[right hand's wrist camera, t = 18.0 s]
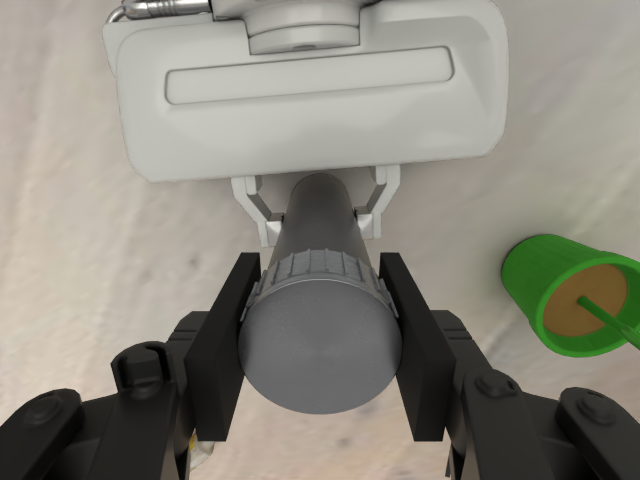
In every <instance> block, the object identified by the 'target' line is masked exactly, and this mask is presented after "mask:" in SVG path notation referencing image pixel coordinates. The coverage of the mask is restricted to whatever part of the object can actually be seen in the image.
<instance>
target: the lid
mask: <svg viewBox="0 0 640 480" xmlns="http://www.w3.org/2000/svg"><path fill="white" fill-rule="evenodd" d="M397 319H399V315H398V313H397V310H396V308H395V305H394V302H393V300H392V297H391V294H390V292H388V291H387V288H386V285H385V282H384V280H383V279H380V278H379V277H378V276H377V274H376V273H375V271H374V268H373V267H371V268H370V267H368V266H367V265H366V264H364V263H363V262H362V261H361V259H360V258H357V259H356V258H354V257H352V256H349V255H347V254H345V252H343V251H342V253H340V252H336V251H329V250H328V249H326V248H325V250H311V249H307V251H304V252H300V253H296V254H294V253H291V255H290V256H288V257H286V258H284V259H282V260H280V261H279V260H277V261H276V262H275V264H274V265H273V266H272V267H270V268H269V269H268V270H264V271H263V274H262V277H261V278H260V280H259V281H258V282H255V283H254V286H253V289H252V291H251V294H250V295H249V298H248V300H247V303H246V306H245V308H244V311H243V314H242V316H241V319H240V322H239V323H242V324H241V327H240V329H239V334H238V338H237V350H238V358H239V362H240V366H241V368H242V370H243V372H244V374H245V376H246V378H247V379H248V381H249V382H250V383H251V384H252V386H253V387H254V388H255V389H256V390H257V391H258V392H259V393H260V394H261V395H263V396H264V397H265V398H267V399H268V400H270V401H272V402H273V403H275V404H277V405H279V406H281V407H284V408H286V409H289V410H293V411H296V412H301V413H307V414H333V413H339V412H344V411H348V410H351V409H354V408H356V407H359V406H361V405H363V404H365V403H367V402H369V401H370V400H372V399H373V398H375V397H376V396H377V395H379V394H380V393H381V392H382V391H383V390H384V389H385V388H386V387H387V386H388V385H389V383H390V382H391V381H392V379H393V378H394V376H395V375H396V373H397V370H398V368H399V366H400V363H401V359H402V351H403V338H402V333H401V329H400V326H399V323H398V321H397Z"/></svg>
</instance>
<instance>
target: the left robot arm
mask: <svg viewBox="0 0 640 480" xmlns="http://www.w3.org/2000/svg"><path fill="white" fill-rule="evenodd" d="M124 16H126V17H127V18H128V19H129V20H132V21H122V22H118V21H119V20H120V19H121V18H122V17H124ZM163 17H164V18H163ZM102 36H103V42H104V46H105V50H106V54H107V57H108V61H109V65H110V68H111V71H112V73H113V75H114V77H115V78H116V84H117V94H118V103H119V112H120V118H121V125H122V131H123V136H124V142H125V146H126V151H127V156H128V159H129V162H130V165H131V167H132V168H133V169H134V170H135V171H136V172H137V173H138V174H139V175H140V176H141V177H142V178H143V179H145V180H146V181H147V182H149V183H153V184H154V183H168V182H180V181H192V180H205V179H217V178H230V179H231V184H232V190H233V196H234V198H235V199H236V200H237V201H238V202H239V204H240V205H241V206H242V207H243V209H244V210H245V211H246V212H247V213H248V215H249V216H250V217H251V218H252V219H253V221H254V222H257V225H258V231H259V238H260V244H261V247H262V248H264V247H275V245H276V242H277V239H278V236H279V233H280V230H281V227H282V223H283V220H284V213H271V211H270V210H269V208H268V207H267V206H266V204H265V203H264V202H263V200H262V199H261V198H260V196H259V195H258V193H257V192H258V190H259V189H260V188H261V186H262V177H261V175H267V174H279V173H292V172H304V171H317V170H329V169H342V168H354V167H366V166H371V177H372V178H373V180H374V181H375V182H376V183H377V186H376V188H375V190H374V192H373V194H372V196H371V197H370V199H369V201H368V203H367V206H361V207H354V214H355V217H356V220H357V223H358V227H359V230H360V233H361V236H362V239H363V240H373V239H381V235H382V232H381V213H383V212H384V211H385V209H386V207H387V205H388V204H389V202H390V200H391V199H392V197H393V195H394V194H395V192H396V190H397V188H398V187H399V185H400V164H404V163H416V162H429V161H441V160H453V159H466V158H478V157H484V156H486V155H488V154H489V153H490V152H491V150H492V149H493V148H494V147H495V145H496V144H497V143H498V142H499V140H500V139H501V138H502V136H503V133H504V129H505V123H506V114H507V101H508V81H509V51H508V35H507V29H506V24H505V21H504V18H503V16H502V13H501V12H500V10H499V8H498V7H497V6H496V5H495V4H494V3H493V2H492V1H491V0H122V6H120V7H118V8H117V9H115V10H114V11H113V12H112V13H111V14H110V15H109V17H108V19H107V21H106V24H105V25H104V26H103V31H102Z"/></svg>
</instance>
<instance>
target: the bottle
mask: <svg viewBox="0 0 640 480" xmlns="http://www.w3.org/2000/svg"><path fill="white" fill-rule="evenodd" d="M325 248H326V249H328V250H329V251H336V252H340V253H342V251H343V252H345V254H347V255H349V256H352V257H354V258H356V259H357V258H360V259H361V261H362V262H363V263H364V264H366V265H367V266H368V267H370V268H371V267H372V266H371V263H370V260H369V257H368V254H367V251H366V248H365V245H364V242H363V239H362V236H361V233H360V230H359V227H358V223H357V220H356V217H355V214H354V211H353V208H352V205H351V202H350V199H349V196H348V193H347V190H346V188H345V187H344V185H343V184H342V183H341V182H340V181H339V180H338V179H336V178H335V177H333V176H330V175H327V174H313V175H309V176H307V177H305V178H304V179H302V180H301V181H300V182H299V183H298V184H297V185H296V187H295V188H294V190H293V193H292V196H291V199H290V202H289V205H288V208H287V211H286V214H285V217H284V220H283V223H282V227H281V230H280V233H279V236H278V239H277V242H276V245H275V248H274V251H273V254H272V257H271V260H270V264H269V267H268V269H269V268H270V267H272V266H273V265H274V264H275V262H276V261H277V260H279V261H280V260H282V259H284V258H286V257H288V256H290V255H291V253H294V254H296V253H300V252H304V251H307V249H311V250H325Z"/></svg>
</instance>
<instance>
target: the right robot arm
mask: <svg viewBox="0 0 640 480" xmlns="http://www.w3.org/2000/svg"><path fill="white" fill-rule="evenodd" d="M260 278H261V267H260V253H241V254H240V256H239V258H238V260H237V262H236V263H235V265H234V267H233V269H232V271H231V273H230V275H229V276H228V278H227V280H226V282H225V284H224V286H223V287H222V289H221V291H220V293H219V295H218V297H217V298H216V300H215V302H214V304H213V306H212V308H211V309H210V311H192V312H191V313H189V314H188V315H187V316H185V317H184V318H183V319H181V320H180V322H179V323H178V325H177V326H176V328H175V329H174V332H172V334H171V335H170V337H169V338H168V341H166V343H163V342H159V341H147V342H143V343H139V344H135V345H133V346H131V347H129V348H127V349H125V350H123V351H122V352H121V353H119V354H118V355H117V356H116V357H115V358H114V359H113V361H112V362H111V363H110V364H111V368H112V372H113V375H114V379H115V383H116V386H117V390H118V393H116V394H113V395H109V396H106V397H101V398H97V399H93V400H89V401H84V402H82V400H81V397H80V394H79V393H77V392H76V391H75V390H72V389H66V388H64V389H58V390H52V391H49V392H46V393H44V394H41V395H39V396H37V397H35V398H33V399H31V400H30V401H28V402H26V403H25V404H24V405H23V406H21V407H20V408H19V409H18V410H16V411H15V412H14V413H13V414H12V415H11V416H10V417H9V418H8V419H7V420H6V421H5V422H4V423H3V425H2V426H1V427H0V480H189V473H190V462H191V452H190V446H189V441H190V439H191V436H192V434H193V431H194V429H196V435H197V440H198V441H226V439H227V436H228V432H229V429H230V425H231V421H232V418H233V414H234V411H235V407H236V404H237V400H238V397H239V393H240V390H241V386H242V382H243V379H244V375H245V374H244V372H243V370H242V368H241V366H240V362H239V358H238V350H237V338H238V334H239V329H240V327H241V324H242V323H239V322H240V319H241V316H242V314H243V311H244V308H245V306H246V303H247V300H248V298H249V295H250V294H251V291H252V289H253V286H254V283H255V282H258V281H259V280H260ZM379 278H380V279H383V280H384V282H385V285H386V288H387V291H388V292H390V294H391V297H392V300H393V302H394V305H395V308H396V310H397V313H398V315H399V319H397V321H398V323H399V326H400V329H401V333H402V338H403V351H402V359H401V363H400V366H399V368H398V370H397V373H396V378H397V382H398V386H399V389H400V393H401V396H402V400H403V403H404V407H405V410H406V414H407V417H408V421H409V425H410V428H411V432H412V435H413V439H414V441H443V435H444V430H445V427H446V429H447V432H448V434H449V437H450V439H451V446H450V451H449V457H448V462H447V467H446V474H445V476H446V477H450V473H451V480H640V424H639V423H638V422H637V421H636V420H635V419H634V418H633V417H632V416H631V415H630V414H629V413H628V412H627V411H626V410H625V409H624V408H622V407H621V406H620V405H619V404H618V403H616V402H615V401H614V400H612V399H610V398H608V397H606V396H605V395H603V394H601V393H598V392H595V391H593V390H590V389H586V388H579V387H572V388H566V389H565V390H564V391H563V392H562V393H561V395H560V398H559V401H558V400H553V399H549V398H545V397H540V396H536V395H532V394H529V393H526V392H522V390H521V388H520V387H519V385H518V384H517V383H516V382H515V381H514V380H513V379H512V378H511V377H509V376H508V375H506V374H504V373H502V372H500V371H498V370H495V369H493V368H492V367H491V365H490V364H489V362H488V361H487V359H486V358H485V356H484V355H483V353H482V352H481V350H480V349H479V347H478V346H477V344H476V343H475V341H474V340H472V337H471V335H470V334H469V332H468V331H467V330H466V328H465V326H464V325H463V323H462V322H461V320H460V319H459V318H458V317H456V316H455V315H454V314H452V313H451V312H450V311H448V310H430V309H429V307H428V306H427V304H426V302H425V300H424V298H423V296H422V295H421V293H420V291H419V289H418V287H417V285H416V283H415V282H414V280H413V278H412V276H411V274H410V272H409V271H408V269H407V267H406V265H405V263H404V261H403V260H402V258H401V256H400V254H399V253H381V254H380V269H379Z"/></svg>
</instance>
